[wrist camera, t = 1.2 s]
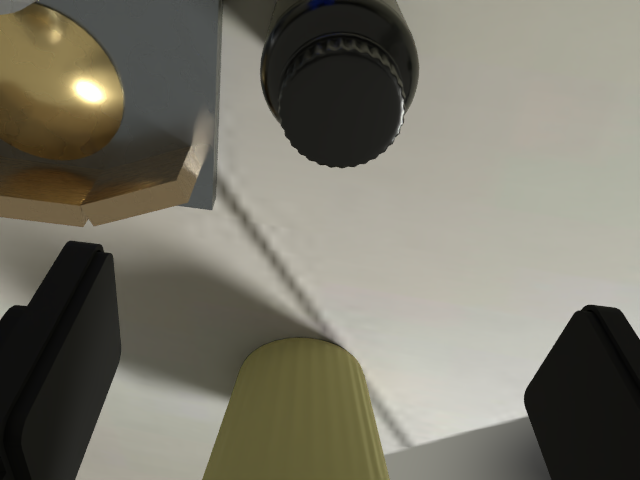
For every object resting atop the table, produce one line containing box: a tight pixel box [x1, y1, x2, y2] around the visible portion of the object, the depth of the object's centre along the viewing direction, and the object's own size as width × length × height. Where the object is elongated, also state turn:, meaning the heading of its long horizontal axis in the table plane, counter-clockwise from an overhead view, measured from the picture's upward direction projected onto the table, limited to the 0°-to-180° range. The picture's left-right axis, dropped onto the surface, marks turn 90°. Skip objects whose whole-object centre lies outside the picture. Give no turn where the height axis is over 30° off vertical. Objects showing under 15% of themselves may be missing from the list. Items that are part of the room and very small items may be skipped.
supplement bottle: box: [260, 0, 419, 168], centre depth 25 cm, size 7×7×12 cm
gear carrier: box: [0, 0, 223, 227], centre depth 27 cm, size 20×20×6 cm
